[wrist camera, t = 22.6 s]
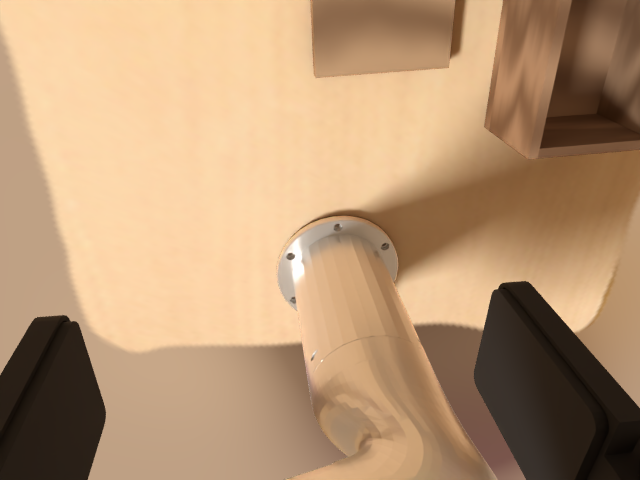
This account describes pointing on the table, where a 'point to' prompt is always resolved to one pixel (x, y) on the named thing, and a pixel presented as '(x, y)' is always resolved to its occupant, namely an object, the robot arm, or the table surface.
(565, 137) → the toolbox
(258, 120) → the table surface
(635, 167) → the table surface
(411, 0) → the lid
